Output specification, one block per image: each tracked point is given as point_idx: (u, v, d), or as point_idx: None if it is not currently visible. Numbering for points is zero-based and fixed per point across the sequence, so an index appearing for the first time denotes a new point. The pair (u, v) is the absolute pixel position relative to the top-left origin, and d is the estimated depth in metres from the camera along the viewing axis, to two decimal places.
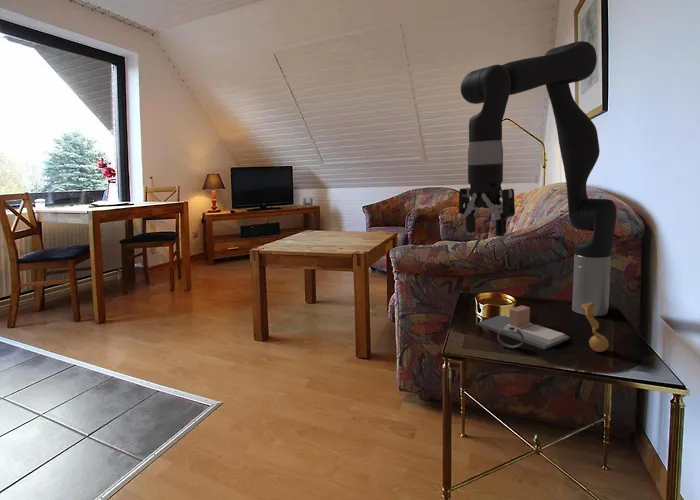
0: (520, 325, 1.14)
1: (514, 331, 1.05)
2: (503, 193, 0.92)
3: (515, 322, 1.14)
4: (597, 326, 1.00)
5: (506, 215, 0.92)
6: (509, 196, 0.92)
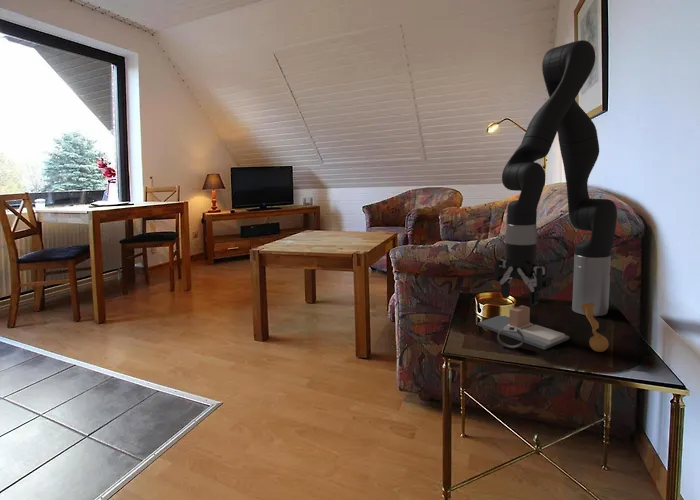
0: (520, 325, 1.14)
1: (514, 331, 1.05)
2: (537, 270, 1.07)
3: (515, 322, 1.14)
4: (597, 326, 1.00)
5: (539, 289, 1.07)
6: (542, 273, 1.07)
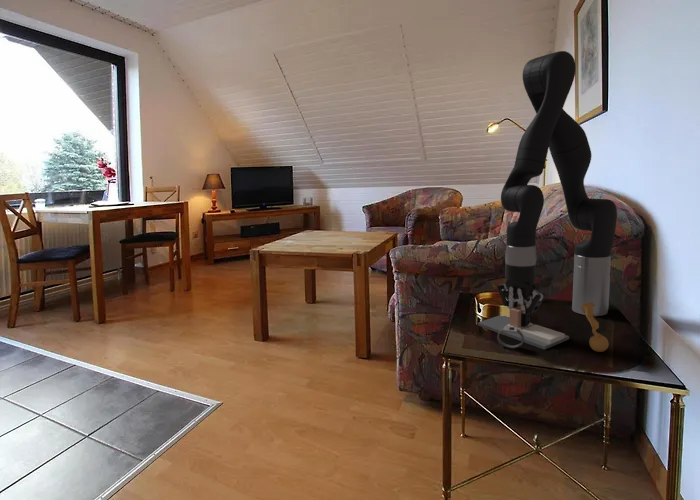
0: (520, 325, 1.14)
1: (514, 331, 1.05)
2: (535, 297, 1.09)
3: (515, 322, 1.14)
4: (597, 326, 1.00)
5: (530, 312, 1.11)
6: (539, 300, 1.09)
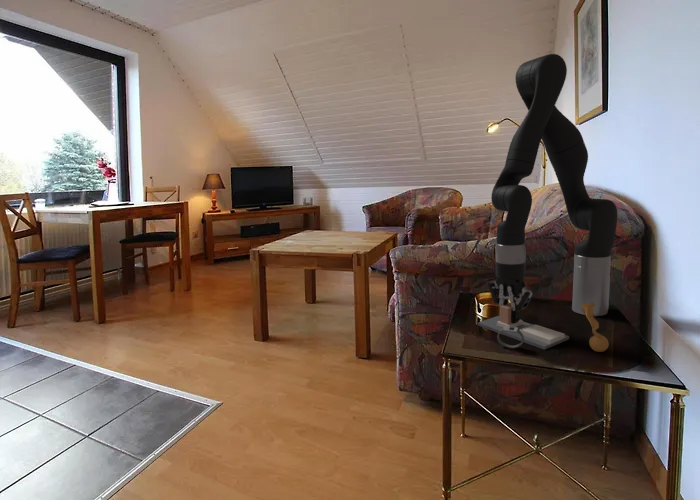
0: (510, 322, 1.17)
1: (514, 331, 1.05)
2: (525, 294, 1.12)
3: (505, 319, 1.17)
4: (597, 326, 1.00)
5: (520, 308, 1.14)
6: (528, 297, 1.12)
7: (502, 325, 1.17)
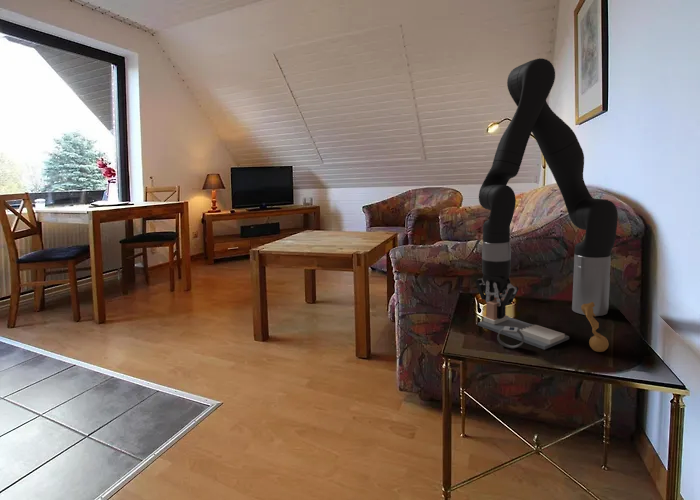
0: (496, 317, 1.21)
1: (514, 331, 1.05)
2: (509, 290, 1.16)
3: (491, 314, 1.21)
4: (597, 326, 1.00)
5: (505, 304, 1.18)
6: (513, 293, 1.16)
7: (488, 320, 1.21)
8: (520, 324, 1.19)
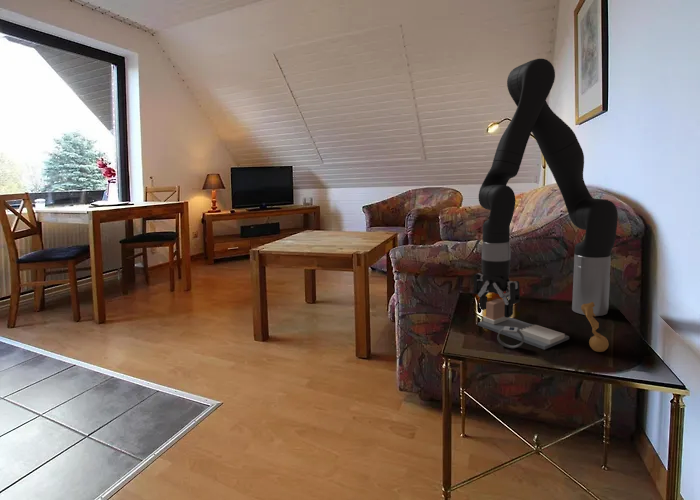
0: (496, 317, 1.21)
1: (514, 331, 1.05)
2: (510, 285, 1.15)
3: (491, 314, 1.21)
4: (597, 326, 1.00)
5: (513, 303, 1.15)
6: (515, 288, 1.15)
7: (488, 320, 1.21)
8: (520, 324, 1.19)
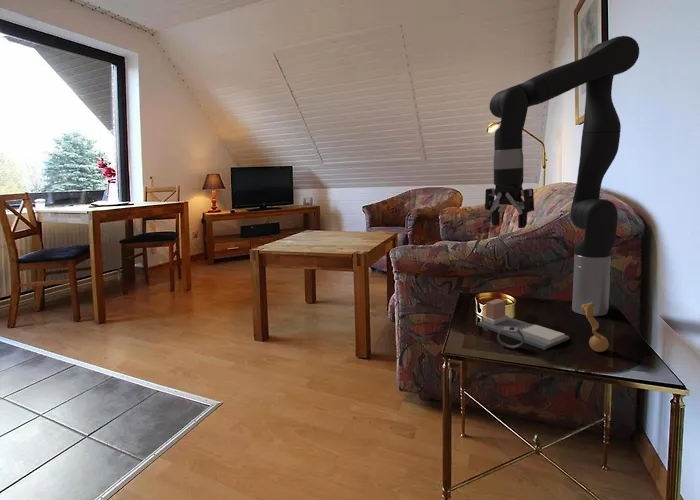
0: (496, 317, 1.21)
1: (514, 331, 1.05)
2: (524, 192, 1.12)
3: (491, 314, 1.21)
4: (597, 326, 1.00)
5: (527, 210, 1.12)
6: (529, 194, 1.11)
7: (488, 320, 1.21)
8: (520, 324, 1.19)
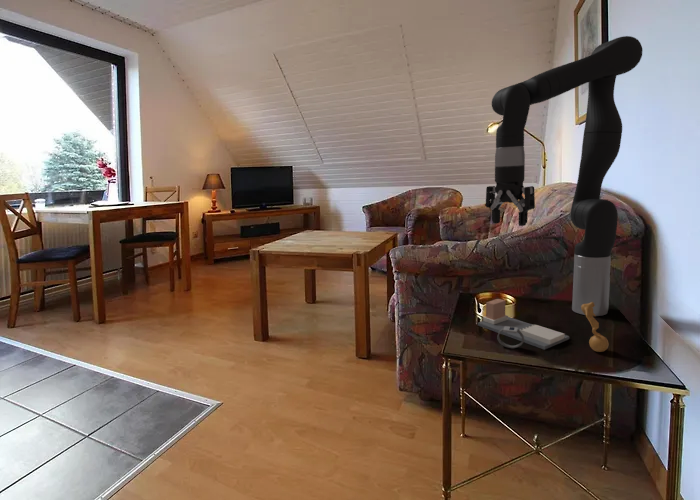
0: (496, 317, 1.21)
1: (514, 331, 1.05)
2: (525, 190, 1.12)
3: (491, 314, 1.21)
4: (597, 326, 1.00)
5: (528, 208, 1.12)
6: (530, 192, 1.11)
7: (488, 320, 1.21)
8: (520, 324, 1.19)
